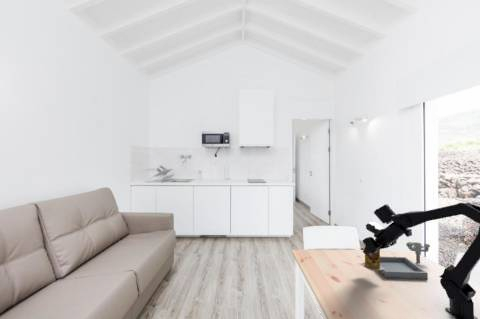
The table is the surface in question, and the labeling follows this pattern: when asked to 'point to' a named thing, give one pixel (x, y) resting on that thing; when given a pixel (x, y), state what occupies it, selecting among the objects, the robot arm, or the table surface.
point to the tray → (401, 268)
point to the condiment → (372, 261)
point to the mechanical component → (417, 249)
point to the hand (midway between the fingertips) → (367, 251)
